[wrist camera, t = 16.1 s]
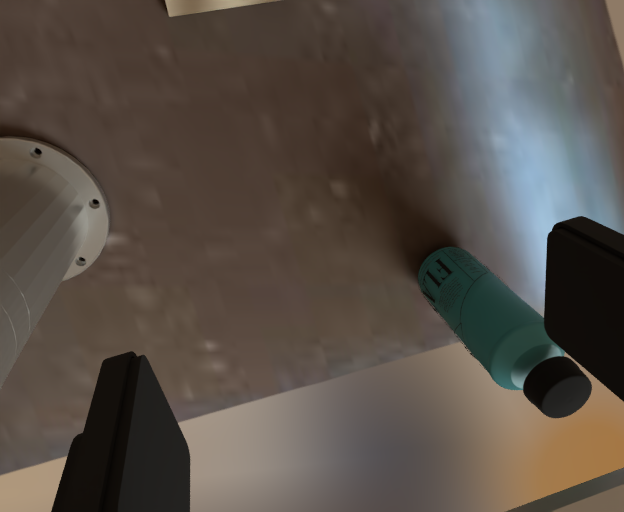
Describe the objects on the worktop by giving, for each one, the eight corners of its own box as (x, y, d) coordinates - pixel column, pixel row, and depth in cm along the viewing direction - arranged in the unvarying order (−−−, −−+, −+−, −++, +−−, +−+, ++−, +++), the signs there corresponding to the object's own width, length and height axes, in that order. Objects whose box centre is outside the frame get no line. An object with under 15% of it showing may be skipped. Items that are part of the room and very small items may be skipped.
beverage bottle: (422, 233, 47) (549, 356, 30) (478, 243, 49) (629, 364, 31) (401, 289, 50) (508, 433, 32) (455, 297, 52) (584, 437, 34)
